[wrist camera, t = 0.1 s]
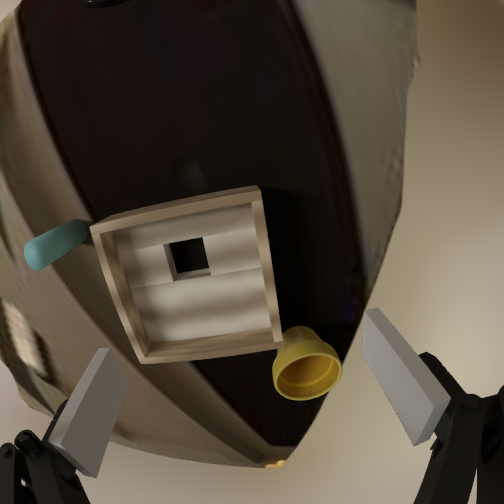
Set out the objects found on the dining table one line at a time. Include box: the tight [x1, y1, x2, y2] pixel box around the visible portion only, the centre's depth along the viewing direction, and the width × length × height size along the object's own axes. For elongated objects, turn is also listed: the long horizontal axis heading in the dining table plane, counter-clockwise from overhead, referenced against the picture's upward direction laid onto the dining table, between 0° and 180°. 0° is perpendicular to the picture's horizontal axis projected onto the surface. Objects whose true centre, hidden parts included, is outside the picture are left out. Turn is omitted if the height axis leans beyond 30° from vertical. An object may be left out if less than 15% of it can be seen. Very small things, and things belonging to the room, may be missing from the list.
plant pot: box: [273, 326, 342, 400], centre depth 42 cm, size 10×10×10 cm
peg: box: [24, 219, 88, 271], centre depth 32 cm, size 4×4×12 cm
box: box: [90, 185, 283, 364], centre depth 38 cm, size 22×22×7 cm
